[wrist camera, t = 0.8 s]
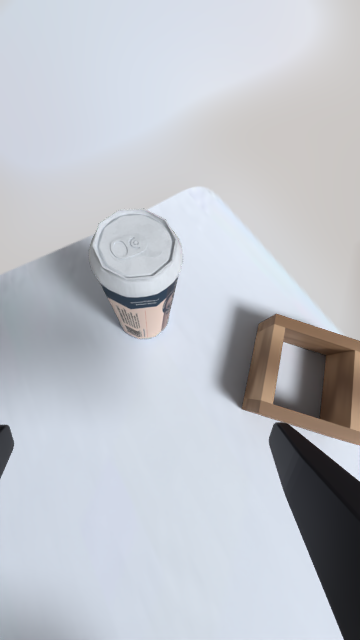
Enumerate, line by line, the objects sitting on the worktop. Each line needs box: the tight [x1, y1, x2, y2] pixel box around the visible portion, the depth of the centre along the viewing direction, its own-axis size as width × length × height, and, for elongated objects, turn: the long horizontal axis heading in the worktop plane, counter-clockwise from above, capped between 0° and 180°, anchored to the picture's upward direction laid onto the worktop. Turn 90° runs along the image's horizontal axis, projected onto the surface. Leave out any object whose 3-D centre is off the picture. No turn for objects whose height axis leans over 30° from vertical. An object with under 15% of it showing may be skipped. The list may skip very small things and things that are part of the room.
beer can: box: [89, 209, 183, 339], centre depth 17 cm, size 5×5×12 cm
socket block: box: [242, 314, 360, 445], centre depth 21 cm, size 8×8×4 cm
